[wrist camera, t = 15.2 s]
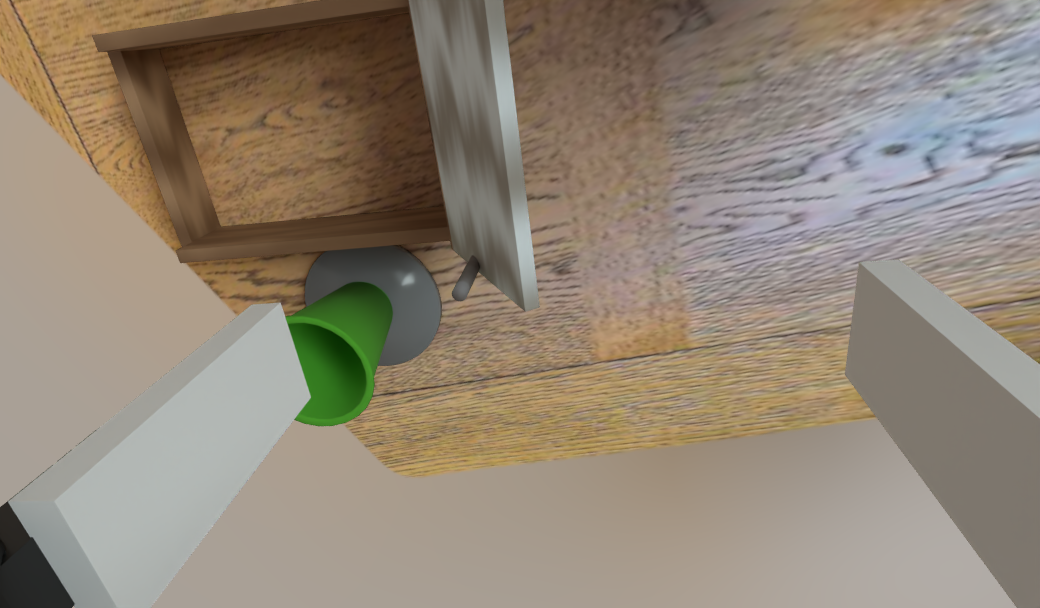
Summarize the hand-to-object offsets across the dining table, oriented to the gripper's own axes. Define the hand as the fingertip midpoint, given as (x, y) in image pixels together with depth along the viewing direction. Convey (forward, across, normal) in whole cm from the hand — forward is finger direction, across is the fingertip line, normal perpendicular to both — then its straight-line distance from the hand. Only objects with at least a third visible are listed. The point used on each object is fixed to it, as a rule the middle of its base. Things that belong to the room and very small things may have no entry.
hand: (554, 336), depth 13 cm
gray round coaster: (+33, -19, -13) cm, 40 cm away
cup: (+32, -20, -13) cm, 40 cm away
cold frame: (+33, -17, +2) cm, 37 cm away
